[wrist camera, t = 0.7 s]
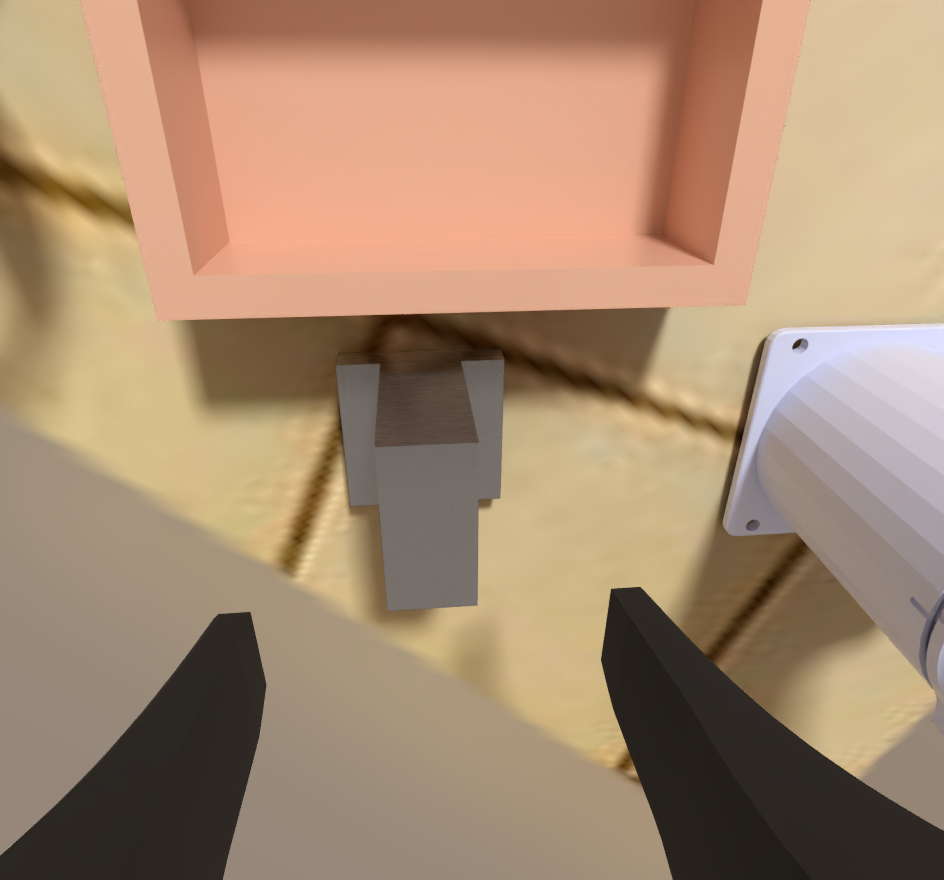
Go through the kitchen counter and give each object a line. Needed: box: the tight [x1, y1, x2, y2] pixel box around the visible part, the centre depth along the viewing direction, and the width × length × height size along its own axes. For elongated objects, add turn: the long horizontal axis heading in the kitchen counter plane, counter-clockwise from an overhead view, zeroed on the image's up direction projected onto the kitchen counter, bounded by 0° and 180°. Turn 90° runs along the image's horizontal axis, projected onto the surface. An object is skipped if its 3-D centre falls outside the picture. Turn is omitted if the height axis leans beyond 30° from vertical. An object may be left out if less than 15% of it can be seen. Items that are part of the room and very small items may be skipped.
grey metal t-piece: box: [335, 348, 504, 611], centre depth 19 cm, size 5×5×6 cm
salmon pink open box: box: [80, 0, 811, 321], centre depth 15 cm, size 14×10×4 cm
